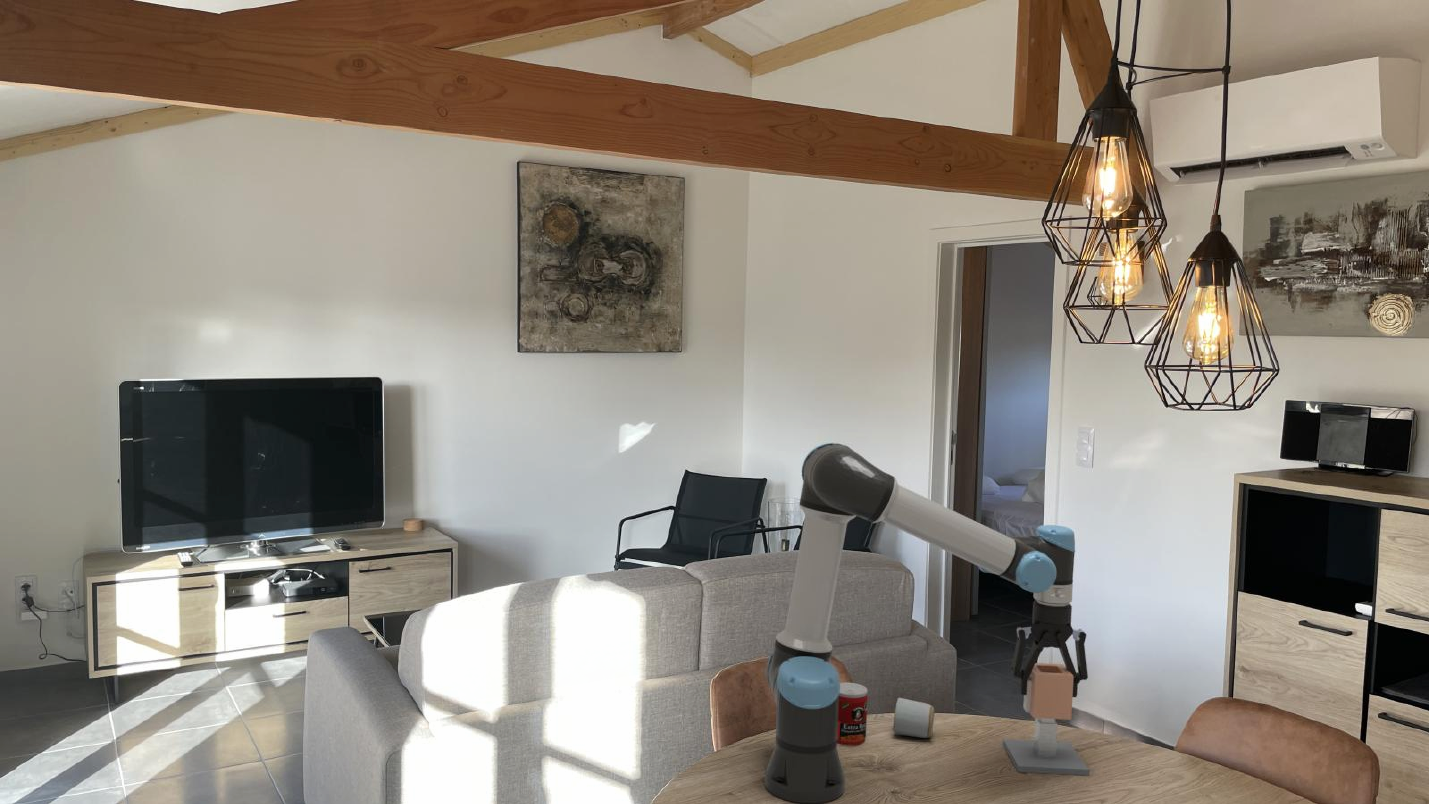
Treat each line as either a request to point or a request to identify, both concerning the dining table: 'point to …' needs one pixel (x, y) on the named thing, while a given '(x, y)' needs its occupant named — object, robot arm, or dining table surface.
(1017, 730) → the dining table surface
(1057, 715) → the square open box
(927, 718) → the ceramic mug
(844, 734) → the canned food
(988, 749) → the dining table surface
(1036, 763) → the shaft plate
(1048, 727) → the square shaft
